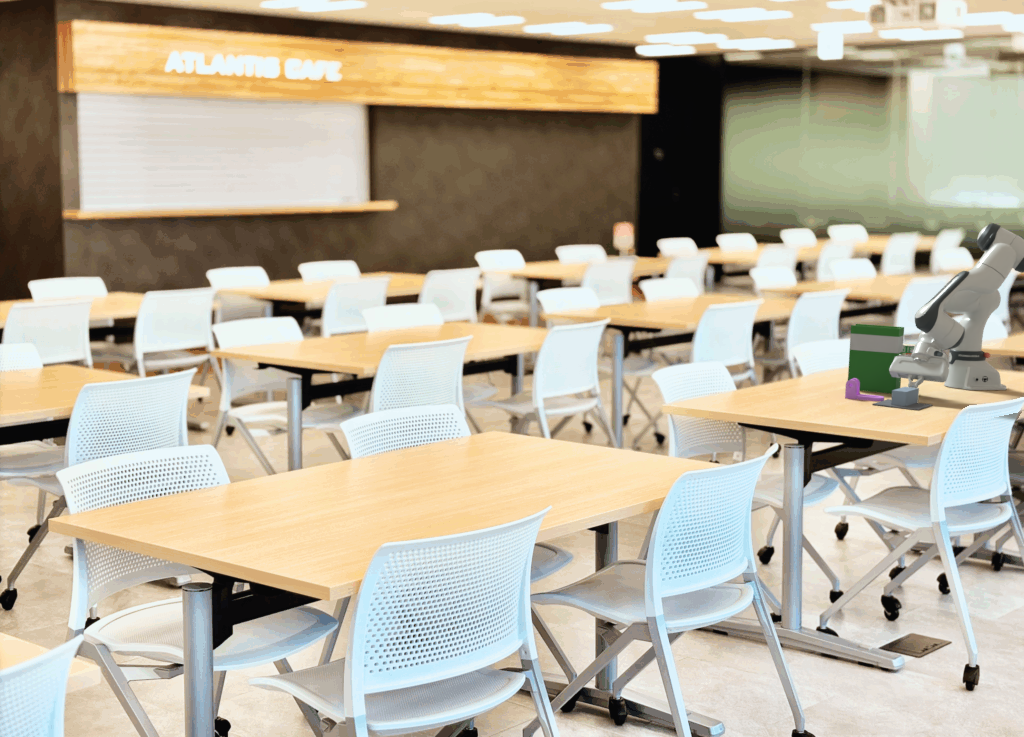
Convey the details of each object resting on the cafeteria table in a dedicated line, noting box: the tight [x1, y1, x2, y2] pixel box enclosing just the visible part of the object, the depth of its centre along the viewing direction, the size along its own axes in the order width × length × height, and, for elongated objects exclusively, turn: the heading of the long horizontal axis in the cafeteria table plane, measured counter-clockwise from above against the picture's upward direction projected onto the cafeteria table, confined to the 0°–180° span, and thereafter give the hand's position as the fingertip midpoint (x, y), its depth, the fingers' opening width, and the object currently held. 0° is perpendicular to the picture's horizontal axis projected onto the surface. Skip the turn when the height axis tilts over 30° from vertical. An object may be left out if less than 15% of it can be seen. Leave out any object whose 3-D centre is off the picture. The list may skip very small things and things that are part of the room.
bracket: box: [844, 378, 885, 402], centre depth 470 cm, size 13×6×7 cm, turn 62°
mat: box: [871, 398, 934, 411], centre depth 458 cm, size 14×16×1 cm
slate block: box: [890, 386, 920, 406], centre depth 459 cm, size 5×5×12 cm
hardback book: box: [847, 323, 905, 395], centre depth 489 cm, size 18×7×24 cm, turn 61°
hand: (912, 387), depth 463 cm, fingers closed
